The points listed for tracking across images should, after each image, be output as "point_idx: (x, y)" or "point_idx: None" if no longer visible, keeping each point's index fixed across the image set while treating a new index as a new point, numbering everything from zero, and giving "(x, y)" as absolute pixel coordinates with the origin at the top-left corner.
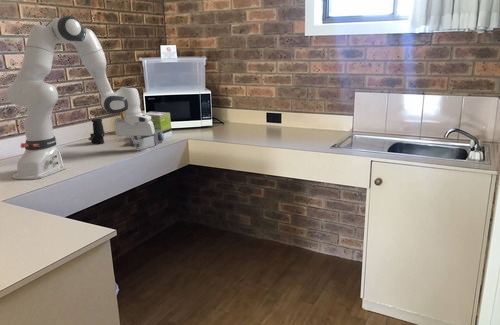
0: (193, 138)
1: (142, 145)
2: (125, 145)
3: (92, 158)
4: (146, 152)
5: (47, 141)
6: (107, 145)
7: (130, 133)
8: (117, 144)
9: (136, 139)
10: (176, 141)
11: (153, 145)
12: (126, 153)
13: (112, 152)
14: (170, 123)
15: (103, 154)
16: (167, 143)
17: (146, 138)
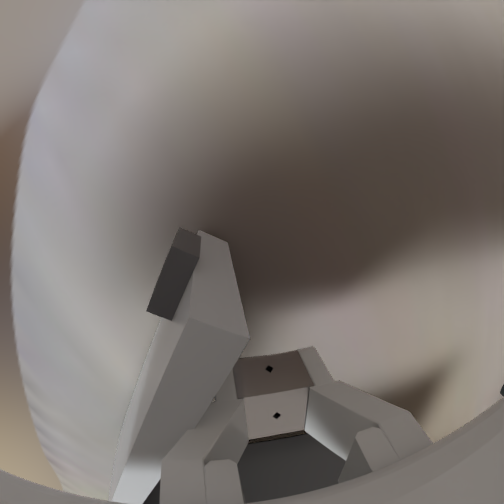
0: None
1: (151, 353)
2: (415, 405)
3: (492, 8)
4: (30, 166)
5: None
6: (499, 364)
7: (463, 500)
8: (457, 401)
9: (337, 477)
10: (76, 487)
11: (121, 430)
12: (310, 87)
13: (475, 167)
14: None
15: (500, 104)
16: (89, 470)
17: (118, 478)
